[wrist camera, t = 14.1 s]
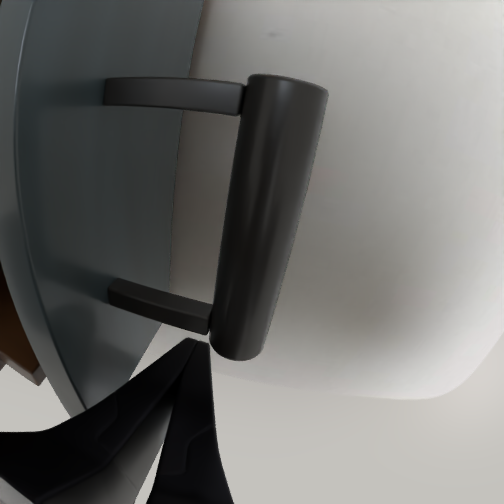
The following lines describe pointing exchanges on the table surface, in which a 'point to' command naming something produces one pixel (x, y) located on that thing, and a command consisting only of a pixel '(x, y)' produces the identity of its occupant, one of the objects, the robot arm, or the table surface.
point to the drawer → (131, 190)
